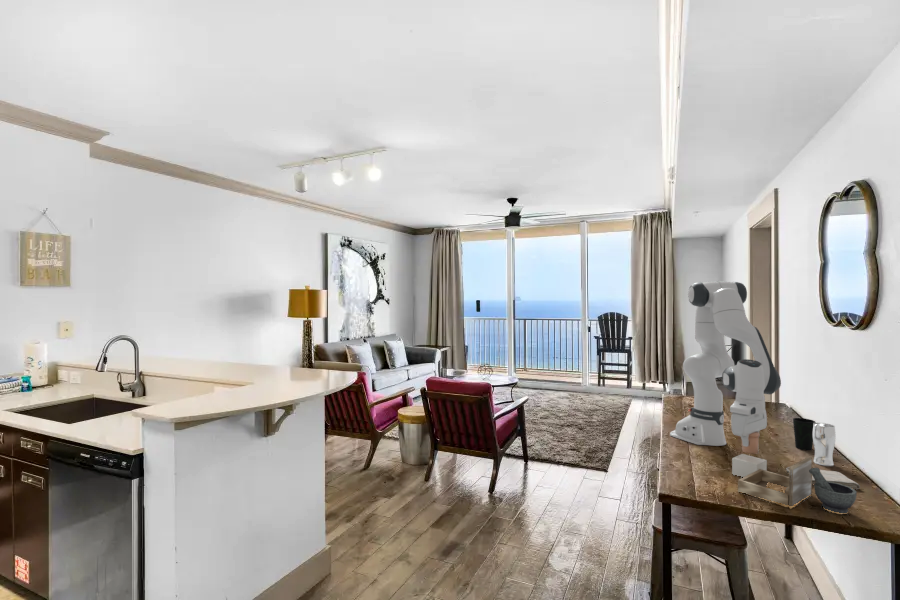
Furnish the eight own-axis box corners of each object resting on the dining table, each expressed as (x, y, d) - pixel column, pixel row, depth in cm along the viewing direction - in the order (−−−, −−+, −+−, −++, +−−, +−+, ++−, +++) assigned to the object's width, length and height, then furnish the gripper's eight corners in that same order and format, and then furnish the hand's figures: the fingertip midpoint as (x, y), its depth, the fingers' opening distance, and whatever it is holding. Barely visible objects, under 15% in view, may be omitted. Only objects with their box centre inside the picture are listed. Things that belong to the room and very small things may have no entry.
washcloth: (783, 472, 170) (783, 464, 170) (840, 478, 166) (840, 469, 166) (798, 485, 159) (798, 476, 159) (861, 491, 154) (861, 482, 154)
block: (732, 474, 167) (732, 458, 167) (742, 469, 172) (742, 453, 172) (756, 481, 160) (757, 464, 160) (766, 476, 165) (766, 460, 165)
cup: (819, 452, 192) (819, 423, 192) (798, 450, 193) (798, 422, 193) (808, 446, 199) (809, 418, 199) (788, 444, 201) (789, 417, 201)
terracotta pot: (738, 450, 166) (738, 431, 166) (745, 448, 170) (745, 428, 170) (755, 455, 162) (755, 435, 162) (762, 452, 165) (762, 432, 165)
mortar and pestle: (852, 508, 141) (853, 469, 141) (859, 521, 133) (860, 479, 133) (806, 499, 147) (806, 461, 147) (810, 511, 139) (811, 471, 139)
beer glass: (826, 467, 174) (826, 427, 174) (807, 461, 181) (808, 423, 181) (839, 465, 176) (840, 426, 176) (820, 459, 183) (821, 421, 183)
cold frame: (737, 492, 152) (738, 453, 152) (759, 480, 162) (760, 443, 162) (791, 509, 140) (792, 467, 140) (811, 495, 150) (812, 456, 150)
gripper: (752, 400, 174) (752, 437, 174) (727, 407, 162) (727, 447, 162) (772, 403, 169) (772, 441, 169) (747, 411, 157) (747, 452, 157)
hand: (750, 444), depth 166 cm, fingers closed on terracotta pot, 5 cm apart
